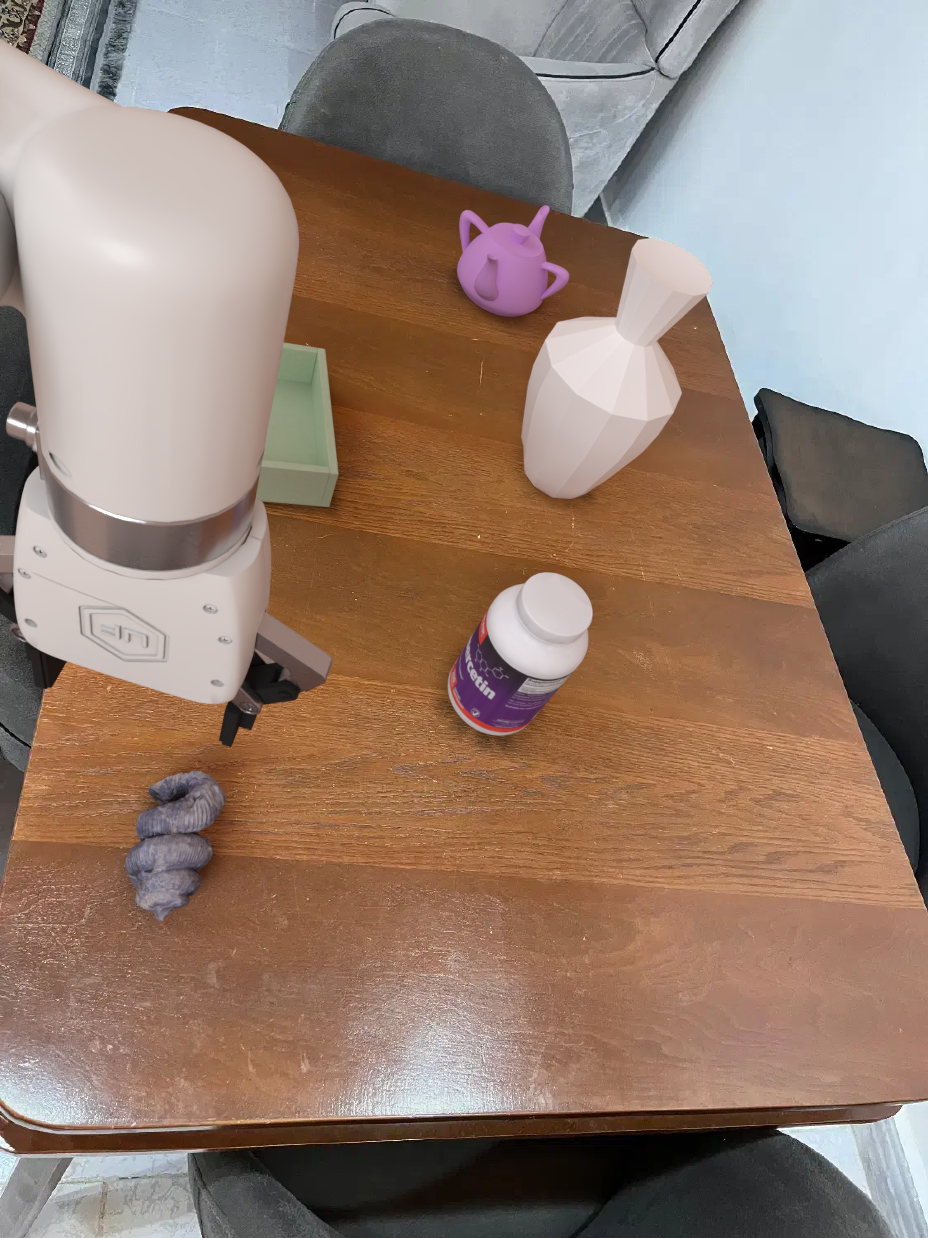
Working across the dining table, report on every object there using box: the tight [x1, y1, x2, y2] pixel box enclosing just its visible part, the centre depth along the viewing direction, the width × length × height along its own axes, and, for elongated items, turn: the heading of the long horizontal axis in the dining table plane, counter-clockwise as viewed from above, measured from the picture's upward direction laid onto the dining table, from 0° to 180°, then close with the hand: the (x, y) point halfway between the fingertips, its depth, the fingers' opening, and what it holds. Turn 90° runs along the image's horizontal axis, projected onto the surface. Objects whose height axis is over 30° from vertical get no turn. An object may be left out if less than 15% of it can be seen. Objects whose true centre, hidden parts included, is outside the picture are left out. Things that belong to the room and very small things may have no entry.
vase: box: [520, 237, 714, 500], centre depth 81 cm, size 14×14×25 cm
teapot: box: [456, 204, 570, 318], centre depth 102 cm, size 12×14×9 cm
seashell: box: [124, 770, 227, 922], centre depth 54 cm, size 5×5×10 cm
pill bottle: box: [447, 571, 594, 737], centre depth 66 cm, size 8×8×14 cm
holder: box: [256, 342, 340, 508], centre depth 77 cm, size 14×17×4 cm
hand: (147, 694), depth 45 cm, fingers open, 9 cm apart
